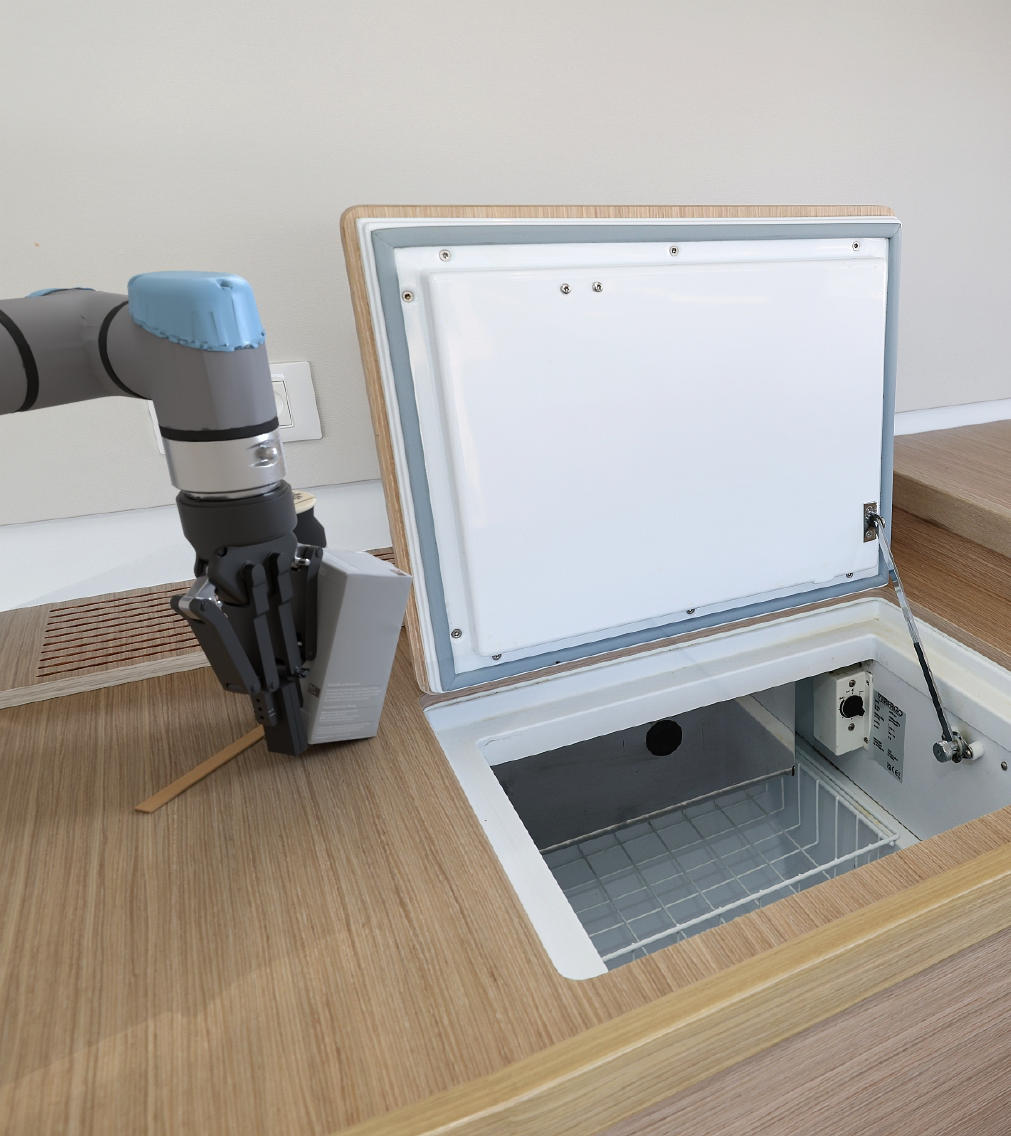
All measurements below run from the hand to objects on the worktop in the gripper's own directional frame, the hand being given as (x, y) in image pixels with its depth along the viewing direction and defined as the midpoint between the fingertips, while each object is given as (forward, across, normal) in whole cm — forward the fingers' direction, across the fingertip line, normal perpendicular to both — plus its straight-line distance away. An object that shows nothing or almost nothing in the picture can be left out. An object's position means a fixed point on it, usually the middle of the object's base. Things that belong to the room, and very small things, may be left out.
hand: (288, 749), depth 81 cm
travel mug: (+2, +14, +11) cm, 19 cm away
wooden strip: (+2, 0, +6) cm, 7 cm away
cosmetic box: (+1, +5, +1) cm, 5 cm away
